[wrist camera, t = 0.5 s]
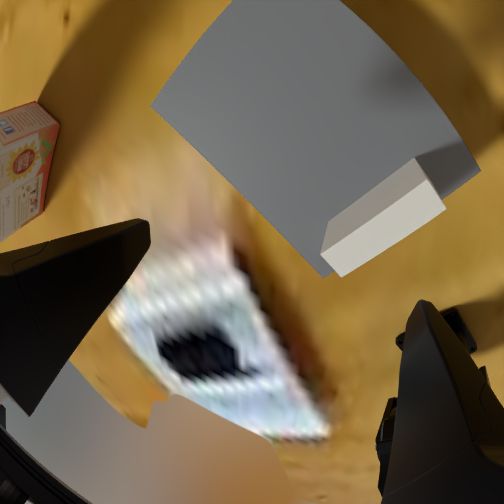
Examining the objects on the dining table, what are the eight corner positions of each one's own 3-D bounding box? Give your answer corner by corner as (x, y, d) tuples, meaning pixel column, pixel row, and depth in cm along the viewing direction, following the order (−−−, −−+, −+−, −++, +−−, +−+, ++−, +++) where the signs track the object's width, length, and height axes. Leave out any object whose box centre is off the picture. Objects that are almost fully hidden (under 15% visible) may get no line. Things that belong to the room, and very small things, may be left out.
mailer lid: (470, 160, 14) (506, 195, 10) (327, 260, 21) (313, 316, 16) (287, -33, 11) (257, -69, 7) (167, 101, 18) (111, 117, 14)
